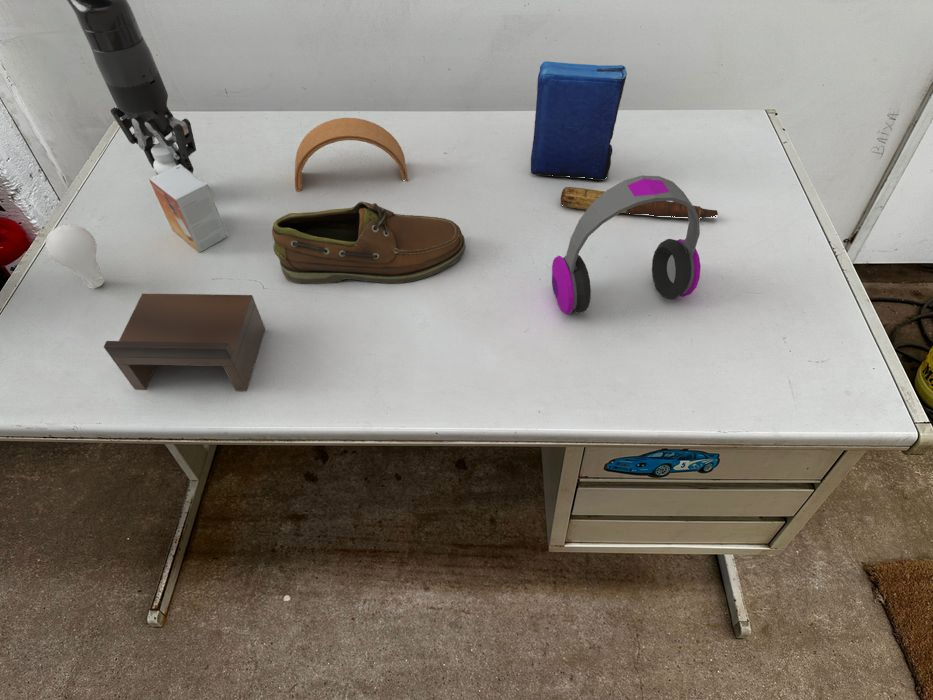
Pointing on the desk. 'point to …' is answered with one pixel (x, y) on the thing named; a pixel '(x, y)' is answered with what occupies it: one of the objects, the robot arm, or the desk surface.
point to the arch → (347, 131)
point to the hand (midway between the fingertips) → (173, 170)
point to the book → (576, 119)
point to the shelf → (190, 336)
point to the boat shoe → (364, 245)
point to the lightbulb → (75, 252)
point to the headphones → (671, 258)
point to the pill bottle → (162, 158)
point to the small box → (189, 207)
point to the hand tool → (657, 208)
